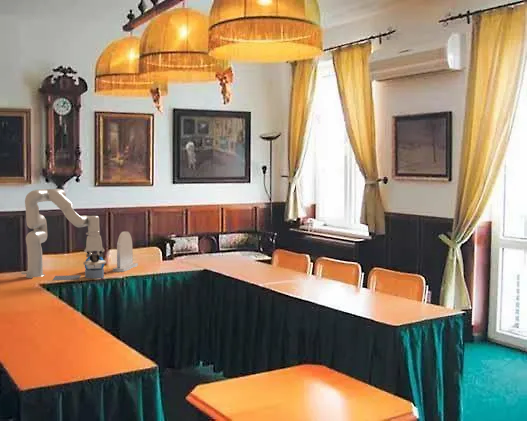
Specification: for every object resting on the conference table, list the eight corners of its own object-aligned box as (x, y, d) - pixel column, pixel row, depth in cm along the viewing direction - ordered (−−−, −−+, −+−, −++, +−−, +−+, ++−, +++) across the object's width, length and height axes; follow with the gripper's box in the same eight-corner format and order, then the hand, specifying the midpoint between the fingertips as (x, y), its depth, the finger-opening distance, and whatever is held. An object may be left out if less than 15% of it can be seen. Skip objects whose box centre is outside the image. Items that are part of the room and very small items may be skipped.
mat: (52, 281, 426) (52, 280, 426) (55, 277, 442) (55, 275, 442) (79, 281, 429) (79, 279, 429) (81, 276, 446) (81, 275, 446)
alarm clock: (84, 274, 455) (84, 253, 454) (85, 272, 461) (85, 251, 460) (103, 273, 457) (103, 252, 455) (104, 272, 463) (104, 251, 462)
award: (126, 265, 494) (126, 229, 492) (137, 265, 492) (137, 229, 490) (112, 271, 466) (111, 233, 464) (123, 272, 465) (123, 233, 463)
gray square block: (86, 280, 432) (86, 271, 431) (84, 277, 443) (84, 268, 442) (104, 278, 436) (104, 270, 436) (102, 276, 447) (102, 267, 447)
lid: (82, 265, 430) (82, 256, 429) (84, 262, 444) (83, 253, 444) (105, 264, 433) (105, 255, 432) (106, 261, 447) (106, 252, 447)
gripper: (80, 235, 432) (81, 262, 433) (106, 234, 435) (107, 261, 436) (81, 234, 439) (82, 260, 440) (106, 233, 442) (107, 259, 444)
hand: (94, 260), depth 438 cm, fingers closed on lid, 3 cm apart
